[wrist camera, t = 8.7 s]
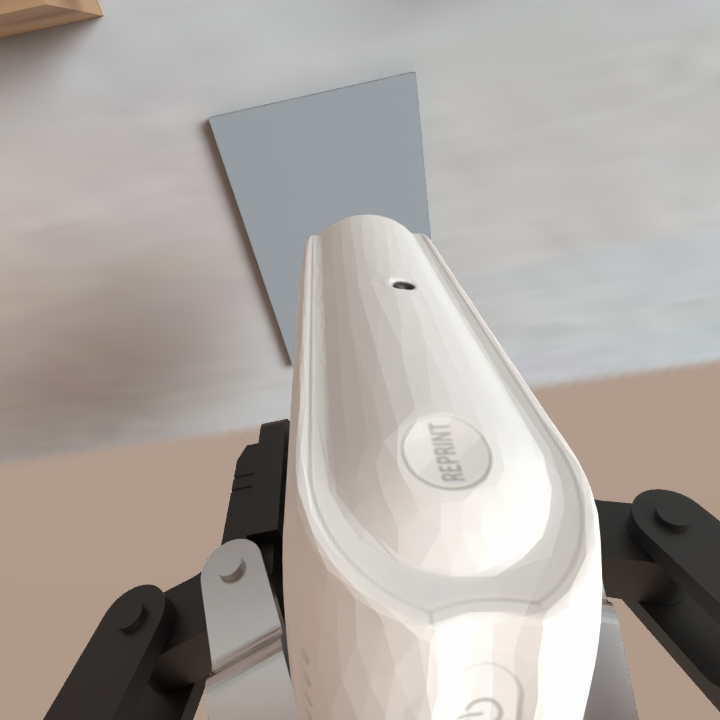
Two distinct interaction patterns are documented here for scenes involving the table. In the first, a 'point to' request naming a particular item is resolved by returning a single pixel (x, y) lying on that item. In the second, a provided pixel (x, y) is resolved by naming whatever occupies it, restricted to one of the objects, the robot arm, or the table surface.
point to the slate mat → (322, 173)
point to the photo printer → (426, 503)
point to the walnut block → (43, 14)
